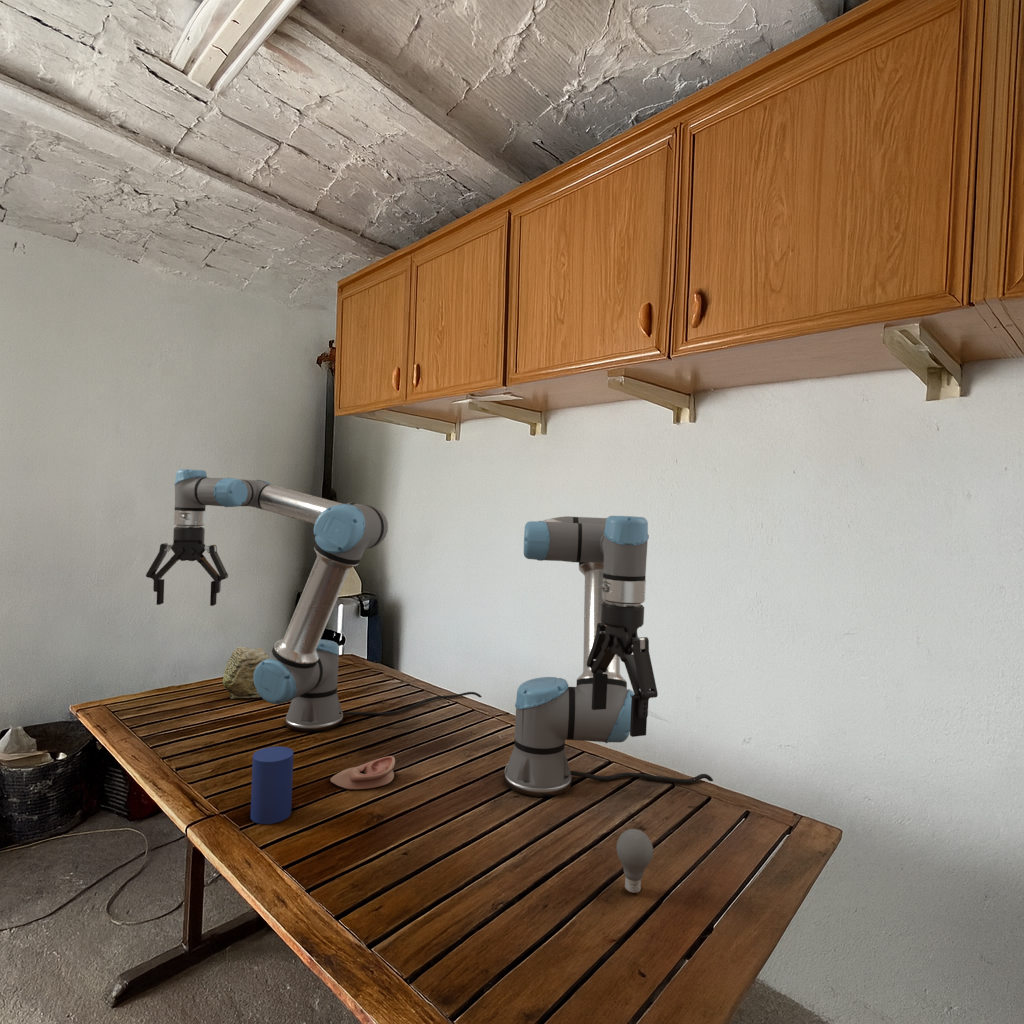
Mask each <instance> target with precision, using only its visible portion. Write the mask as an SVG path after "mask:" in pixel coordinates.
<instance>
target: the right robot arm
mask: <svg viewBox="0 0 1024 1024" xmlns="http://www.w3.org/2000/svg"><path fill="white" fill-rule="evenodd" d="M649 537H650V534H649V521H648V519H646V517H643V516H635V515H634V516H633V515H609V516H608V517H589V516H587V517H586V516H557V517H552V518H548V519H544V520H536V521H535V520H533V521H532V520H529V521H527V522H526V523H525V525H524V534H523V557H524V558H526V559H527V560H535V561H540V562H541V561H547V562H548V561H550V562H551V561H553V562H567V563H578V571H579V572H580V573H581V574H582V575H583V576H584V599H583V600H584V604H583V605H584V607H583V664H582V665H583V666H582V667H583V670H582V673H581V674H580V675H579V676H578V677H577V678H576V686H569V683H568V681H567V680H566V679H565V678H561V677H558V676H557V677H556V676H542V677H535V678H531V679H528V680H526V681H523V682H522V683H521V684H520V685H519V686H518V687H517V690H516V699H515V703H514V707H515V721H514V741H513V748H512V751H511V754H510V756H509V759H508V762H507V764H505V768H504V773H503V774H504V783H505V785H506V786H507V787H508V788H509V789H511V790H512V791H514V792H517V793H519V794H522V795H524V796H528V797H529V796H530V797H536V798H537V797H538V798H539V797H540V798H547V797H548V798H549V797H555V796H558V795H562V794H564V793H566V792H567V791H569V789H571V786H572V776H574V777H580V778H585V779H590V780H594V781H600V782H607V781H615V780H617V779H618V780H619V779H622V778H637V779H645V780H650V781H651V780H652V781H658V782H668V783H675V784H686V785H687V784H693V783H697V782H698V781H700V780H703V779H706V780H707V781H708V782H714V779H713V777H711V776H710V775H709V774H707V773H700V774H698V775H695V776H693V777H692V778H676V777H670V776H669V777H668V776H661V775H653V774H647V773H640V772H619V773H615V774H611V775H596V774H591V773H587V772H582V771H576V770H571V769H570V765H569V762H568V757H567V754H566V741H580V742H581V741H582V742H594V743H596V742H597V743H605V744H608V743H623V742H625V741H626V740H627V739H628V738H629V736H630V737H632V738H634V737H644V736H647V723H648V715H649V700H650V699H653V698H657V697H658V695H659V692H658V687H657V683H656V679H655V674H654V669H653V665H652V660H651V654H650V640H649V639H650V638H648V637H647V636H642V637H640V636H639V635H638V630H639V628H642V627H643V626H644V623H645V622H644V621H645V606H644V605H643V604H644V603H645V602H646V585H647V584H646V582H647V580H646V577H647V576H646V575H647V574H646V573H647V558H648V556H647V555H648V541H649V539H650V538H649ZM621 662H622V663H623V664H624V667H625V669H626V672H627V675H628V679H629V683H630V685H631V688H632V690H631V689H630V688H628V681H627V679H626V678H624V676H622V674H621ZM694 779H695V780H694Z"/></svg>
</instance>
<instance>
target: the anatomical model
mask: <svg viewBox="0 0 1024 1024" xmlns="http://www.w3.org/2000/svg"><path fill="white" fill-rule="evenodd" d="M395 765H396V759H395V757H394V756H392V755H387V756H384V757H380V758H376V759H373V760H370V761H368V762H364V763H362V764H360V765H358V766H353V767H349V768H346V769H343V770H341V771H339V772H337V773H335V774H334V775H333V776H332V777H330V783H333V785H336V786H338V787H340V788H343V789H345V790H364V789H374V788H377V787H382V786H385V785H388V784H390V783H391V782H392V781H393V779H394V777H395V771H394V768H395Z"/></svg>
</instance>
